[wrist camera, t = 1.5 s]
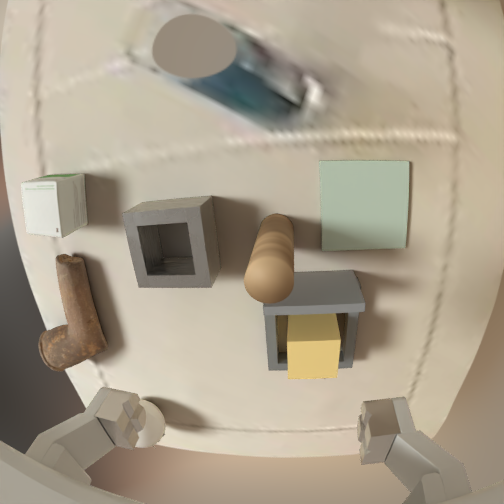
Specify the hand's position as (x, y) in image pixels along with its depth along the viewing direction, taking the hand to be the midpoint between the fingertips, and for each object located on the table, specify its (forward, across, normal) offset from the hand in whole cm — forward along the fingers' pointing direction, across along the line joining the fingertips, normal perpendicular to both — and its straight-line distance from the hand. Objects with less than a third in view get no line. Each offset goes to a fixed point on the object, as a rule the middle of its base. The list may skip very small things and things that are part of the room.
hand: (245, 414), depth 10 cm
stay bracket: (+20, +9, 0) cm, 22 cm away
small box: (+20, +22, -5) cm, 30 cm away
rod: (+20, 0, 0) cm, 20 cm away
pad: (+20, -8, -2) cm, 22 cm away
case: (+20, -3, +10) cm, 22 cm away
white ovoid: (+20, +20, +27) cm, 39 cm away
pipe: (+20, +26, +8) cm, 34 cm away
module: (+20, -3, +10) cm, 22 cm away
